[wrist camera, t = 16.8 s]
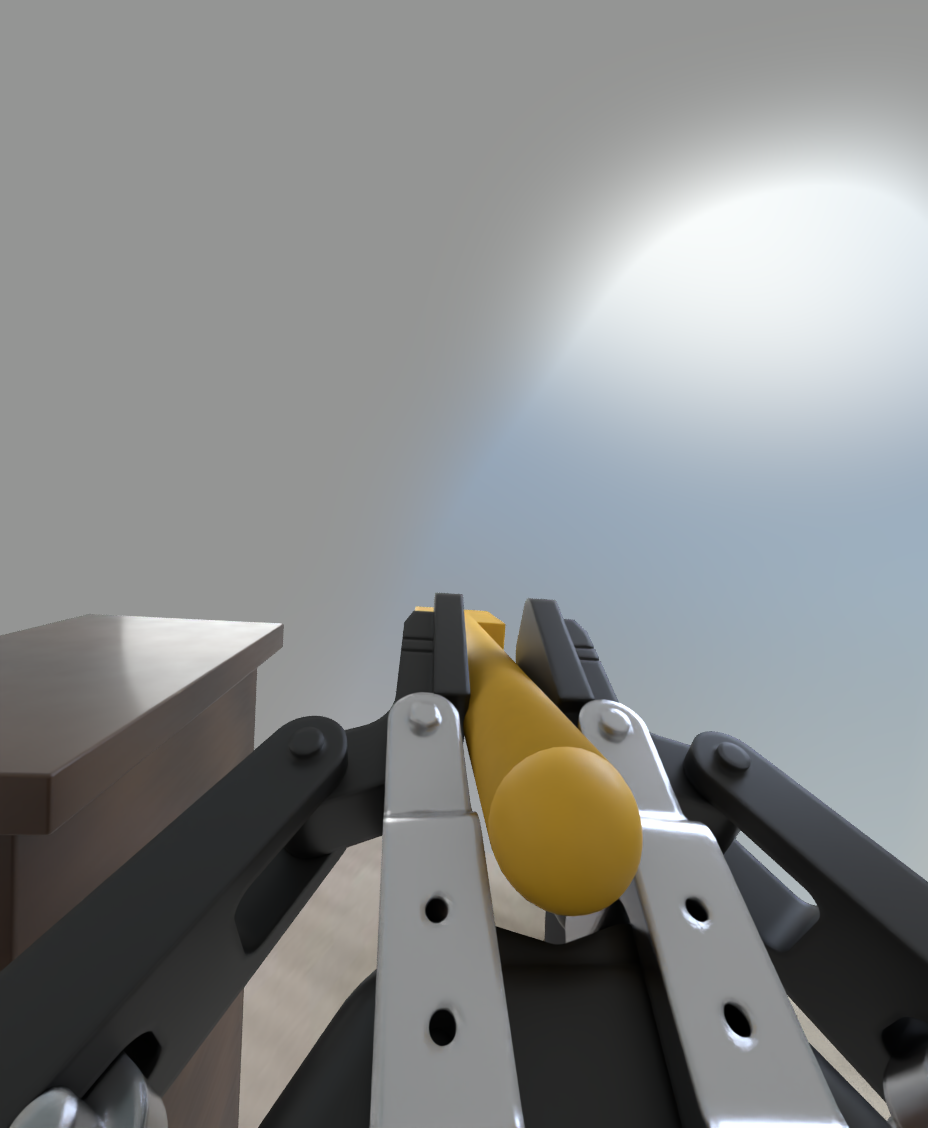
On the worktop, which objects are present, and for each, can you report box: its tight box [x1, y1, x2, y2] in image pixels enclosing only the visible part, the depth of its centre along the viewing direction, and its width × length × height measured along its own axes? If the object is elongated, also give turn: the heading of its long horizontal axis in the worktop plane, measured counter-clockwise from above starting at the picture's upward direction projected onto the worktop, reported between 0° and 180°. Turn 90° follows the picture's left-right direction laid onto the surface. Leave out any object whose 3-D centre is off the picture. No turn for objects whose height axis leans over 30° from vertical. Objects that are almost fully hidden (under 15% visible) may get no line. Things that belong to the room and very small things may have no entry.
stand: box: [0, 614, 284, 1128], centre depth 16 cm, size 14×9×30 cm, turn 5°
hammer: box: [415, 607, 643, 916], centre depth 16 cm, size 23×4×2 cm, turn 5°
